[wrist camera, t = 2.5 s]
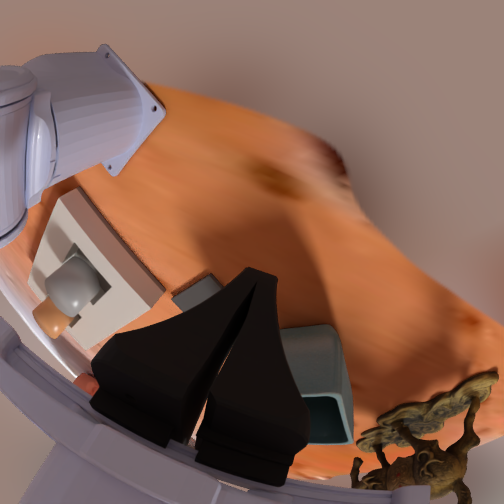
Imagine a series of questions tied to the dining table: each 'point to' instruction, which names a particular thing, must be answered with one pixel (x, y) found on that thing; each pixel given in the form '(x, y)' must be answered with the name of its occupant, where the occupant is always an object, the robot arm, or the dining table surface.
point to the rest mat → (197, 293)
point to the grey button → (72, 286)
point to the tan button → (51, 318)
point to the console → (94, 268)
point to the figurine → (425, 442)
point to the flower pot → (321, 381)
